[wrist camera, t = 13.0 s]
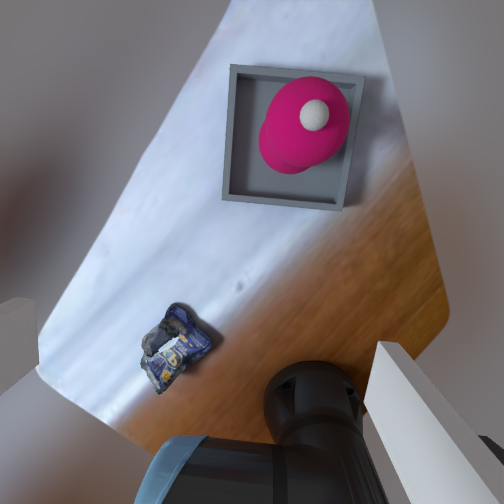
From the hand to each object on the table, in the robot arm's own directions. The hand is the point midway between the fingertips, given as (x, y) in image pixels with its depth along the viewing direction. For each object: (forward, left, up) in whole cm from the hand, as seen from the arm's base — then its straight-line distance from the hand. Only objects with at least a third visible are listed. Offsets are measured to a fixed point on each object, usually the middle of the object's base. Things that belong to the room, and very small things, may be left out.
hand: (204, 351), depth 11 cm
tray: (+11, -5, -30) cm, 32 cm away
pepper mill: (+10, -5, -29) cm, 32 cm away
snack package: (-19, +9, -31) cm, 37 cm away
